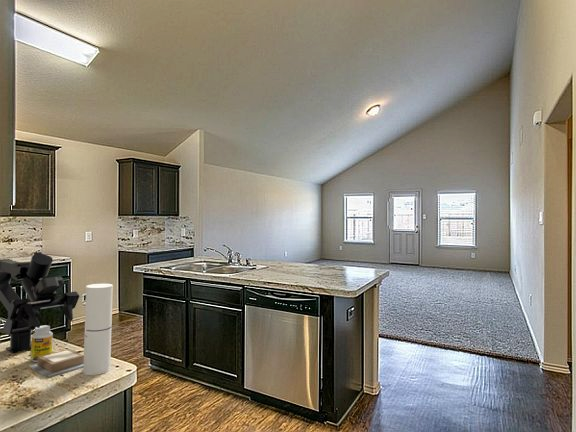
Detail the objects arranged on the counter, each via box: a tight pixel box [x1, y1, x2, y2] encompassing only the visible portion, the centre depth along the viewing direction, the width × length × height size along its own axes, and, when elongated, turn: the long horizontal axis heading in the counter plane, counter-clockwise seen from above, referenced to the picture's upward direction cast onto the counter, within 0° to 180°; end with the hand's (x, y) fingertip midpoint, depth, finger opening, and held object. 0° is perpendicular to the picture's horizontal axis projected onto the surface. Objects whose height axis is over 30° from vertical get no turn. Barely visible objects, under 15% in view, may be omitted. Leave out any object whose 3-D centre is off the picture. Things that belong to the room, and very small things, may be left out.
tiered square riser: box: [29, 348, 84, 379], centre depth 115 cm, size 12×12×3 cm
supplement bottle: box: [30, 325, 54, 363], centre depth 120 cm, size 6×6×10 cm
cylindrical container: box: [82, 283, 114, 376], centre depth 113 cm, size 7×7×25 cm
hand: (56, 323), depth 115 cm, fingers open, 9 cm apart
